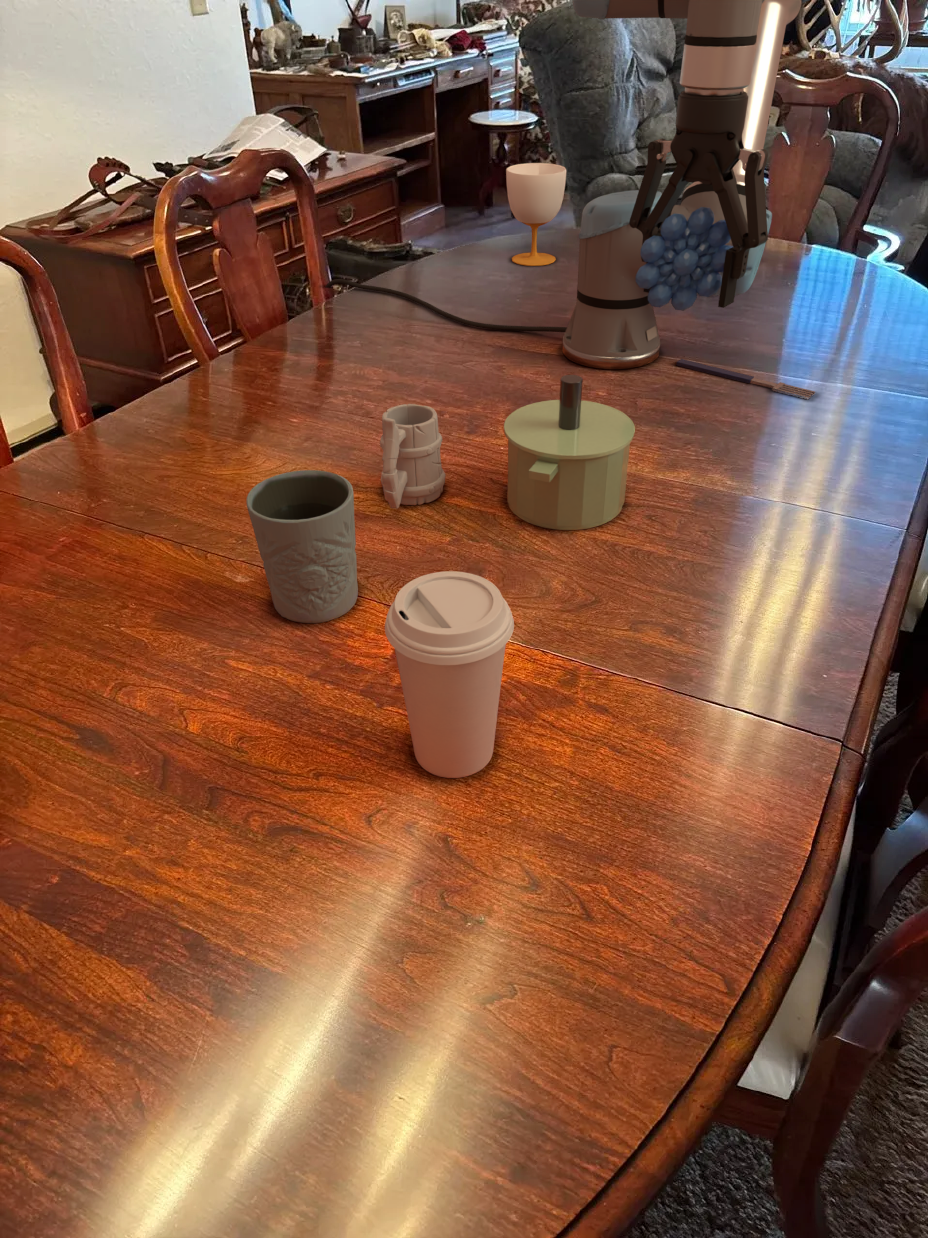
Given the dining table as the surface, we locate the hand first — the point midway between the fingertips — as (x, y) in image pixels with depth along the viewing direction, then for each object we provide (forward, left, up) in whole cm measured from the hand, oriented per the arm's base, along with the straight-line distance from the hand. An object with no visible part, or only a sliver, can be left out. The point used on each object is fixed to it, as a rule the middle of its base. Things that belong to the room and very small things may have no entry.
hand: (687, 296), depth 114 cm
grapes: (-1, 0, -2) cm, 2 cm away
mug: (-15, -36, -17) cm, 43 cm away
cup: (-61, +54, -17) cm, 83 cm away
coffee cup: (+16, -65, -17) cm, 70 cm away
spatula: (0, +21, -17) cm, 27 cm away
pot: (0, -25, -17) cm, 31 cm away
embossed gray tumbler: (-9, -57, -17) cm, 61 cm away
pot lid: (0, -25, -8) cm, 27 cm away
